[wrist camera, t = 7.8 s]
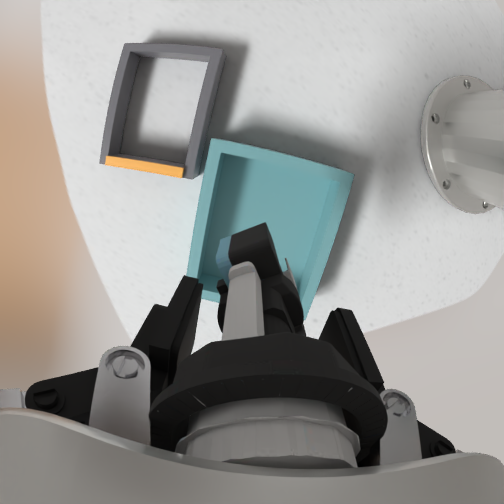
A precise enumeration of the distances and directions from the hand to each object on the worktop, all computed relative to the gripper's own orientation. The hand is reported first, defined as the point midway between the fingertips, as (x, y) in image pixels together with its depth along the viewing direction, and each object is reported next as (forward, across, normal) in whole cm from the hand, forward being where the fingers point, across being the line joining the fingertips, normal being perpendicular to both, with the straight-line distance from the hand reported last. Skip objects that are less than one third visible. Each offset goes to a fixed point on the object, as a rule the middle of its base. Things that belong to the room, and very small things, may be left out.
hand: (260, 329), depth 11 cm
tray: (+13, 0, 0) cm, 13 cm away
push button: (+4, 0, 0) cm, 4 cm away
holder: (+13, +9, -8) cm, 18 cm away
